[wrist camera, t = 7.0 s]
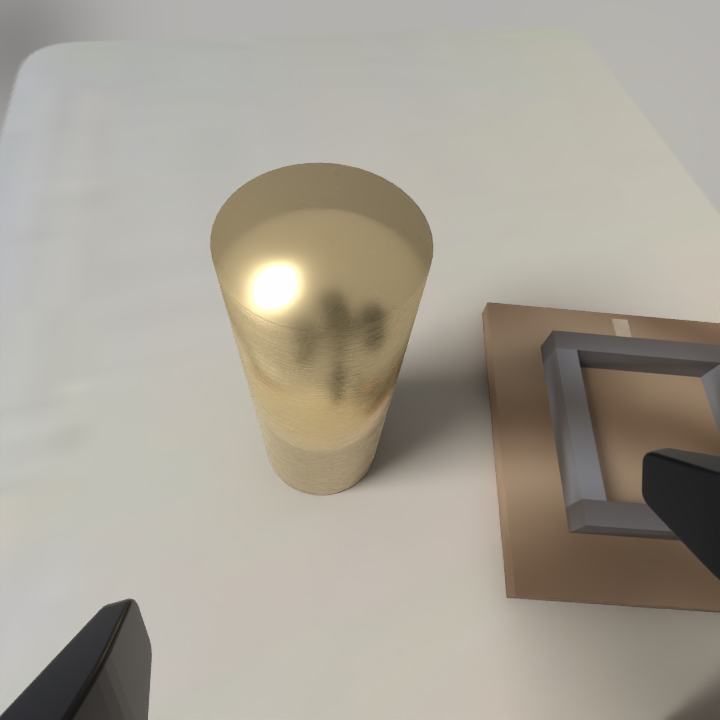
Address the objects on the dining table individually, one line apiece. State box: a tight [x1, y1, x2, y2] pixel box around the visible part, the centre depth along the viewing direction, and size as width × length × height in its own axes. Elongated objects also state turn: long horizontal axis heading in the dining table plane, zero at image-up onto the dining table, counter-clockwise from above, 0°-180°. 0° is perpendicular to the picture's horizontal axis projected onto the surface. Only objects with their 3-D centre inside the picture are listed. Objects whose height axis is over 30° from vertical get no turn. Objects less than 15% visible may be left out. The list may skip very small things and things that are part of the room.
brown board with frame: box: [482, 303, 720, 613], centre depth 22 cm, size 14×14×2 cm
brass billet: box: [210, 163, 433, 495], centre depth 17 cm, size 5×5×13 cm
